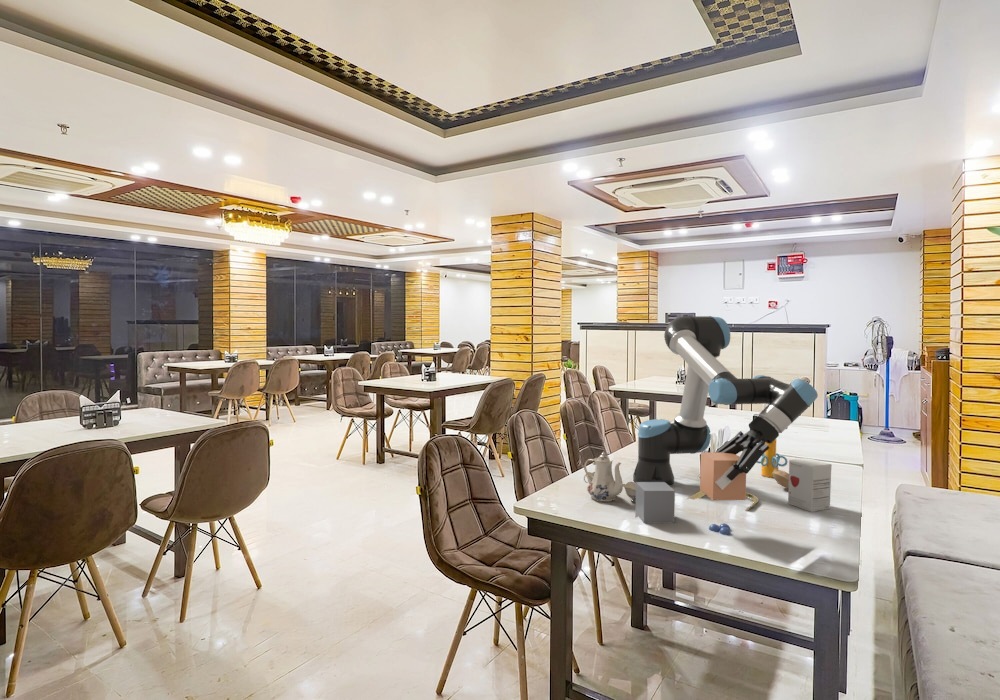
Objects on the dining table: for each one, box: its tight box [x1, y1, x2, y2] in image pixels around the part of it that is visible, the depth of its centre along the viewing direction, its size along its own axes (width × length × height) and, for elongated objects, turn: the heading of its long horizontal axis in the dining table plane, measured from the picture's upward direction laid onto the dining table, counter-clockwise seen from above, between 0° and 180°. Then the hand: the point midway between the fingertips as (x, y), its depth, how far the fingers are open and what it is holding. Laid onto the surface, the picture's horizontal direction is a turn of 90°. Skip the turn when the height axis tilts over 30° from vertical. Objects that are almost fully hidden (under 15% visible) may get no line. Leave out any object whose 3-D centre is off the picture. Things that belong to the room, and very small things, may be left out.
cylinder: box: [755, 438, 788, 479], centre depth 213 cm, size 12×10×15 cm
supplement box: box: [787, 457, 833, 513], centre depth 176 cm, size 9×9×15 cm
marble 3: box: [718, 527, 732, 536], centre depth 149 cm, size 3×3×3 cm
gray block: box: [634, 482, 676, 524], centre depth 161 cm, size 9×9×11 cm
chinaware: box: [583, 451, 636, 503], centre depth 186 cm, size 28×17×17 cm, turn 43°
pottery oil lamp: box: [772, 469, 789, 489], centre depth 194 cm, size 9×12×7 cm
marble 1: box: [708, 523, 720, 533], centre depth 151 cm, size 3×3×3 cm
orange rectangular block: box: [699, 452, 747, 501], centre depth 150 cm, size 9×9×11 cm
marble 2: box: [718, 523, 731, 531], centre depth 152 cm, size 3×3×3 cm
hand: (711, 480), depth 150 cm, fingers closed on orange rectangular block, 9 cm apart
